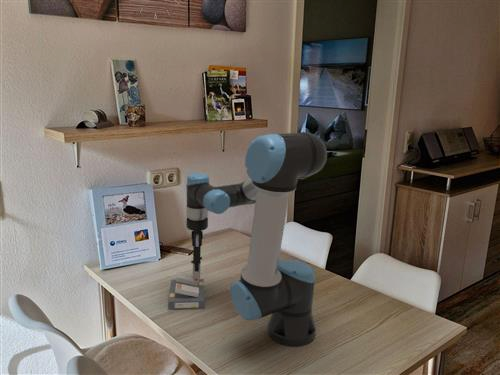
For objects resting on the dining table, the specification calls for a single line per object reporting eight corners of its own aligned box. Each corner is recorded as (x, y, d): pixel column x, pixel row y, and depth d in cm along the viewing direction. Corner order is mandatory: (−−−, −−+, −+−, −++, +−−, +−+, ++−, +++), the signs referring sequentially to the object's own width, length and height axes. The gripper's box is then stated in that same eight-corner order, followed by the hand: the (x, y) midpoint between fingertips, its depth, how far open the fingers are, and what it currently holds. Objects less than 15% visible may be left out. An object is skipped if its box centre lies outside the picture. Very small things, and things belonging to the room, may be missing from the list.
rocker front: (197, 297, 152) (199, 292, 152) (174, 292, 150) (176, 288, 150) (197, 291, 156) (198, 287, 155) (175, 286, 154) (176, 282, 154)
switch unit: (204, 308, 151) (204, 298, 150) (168, 310, 149) (168, 299, 148) (203, 286, 166) (203, 276, 165) (171, 287, 165) (171, 277, 164)
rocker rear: (197, 286, 160) (198, 282, 159) (175, 281, 158) (177, 276, 158) (197, 281, 163) (198, 277, 163) (176, 276, 162) (177, 271, 162)
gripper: (208, 224, 149) (207, 286, 156) (207, 210, 162) (206, 268, 169) (186, 224, 148) (185, 286, 155) (186, 210, 161) (186, 269, 168)
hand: (196, 277), depth 162 cm, fingers closed
